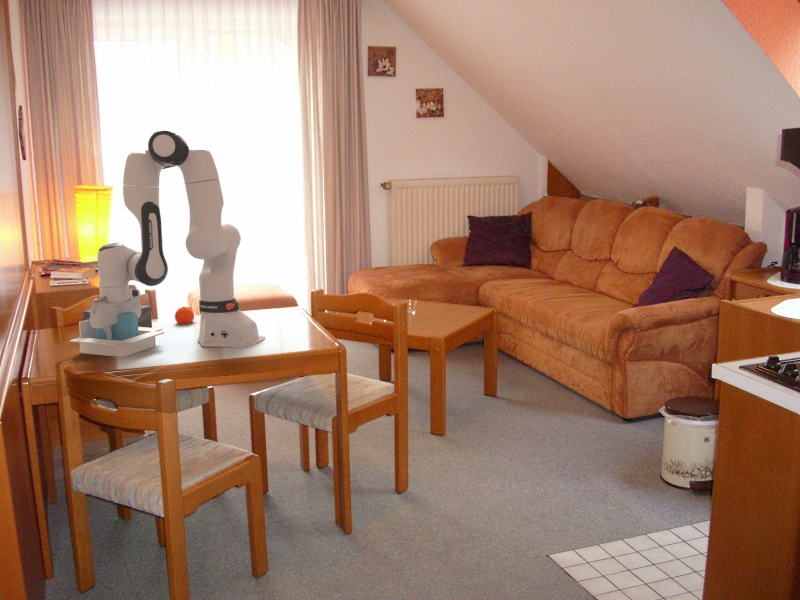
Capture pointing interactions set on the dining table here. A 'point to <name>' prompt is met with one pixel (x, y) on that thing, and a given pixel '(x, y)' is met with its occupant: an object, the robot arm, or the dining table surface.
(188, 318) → the clementine
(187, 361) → the dining table surface
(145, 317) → the riser
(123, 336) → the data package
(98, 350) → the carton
